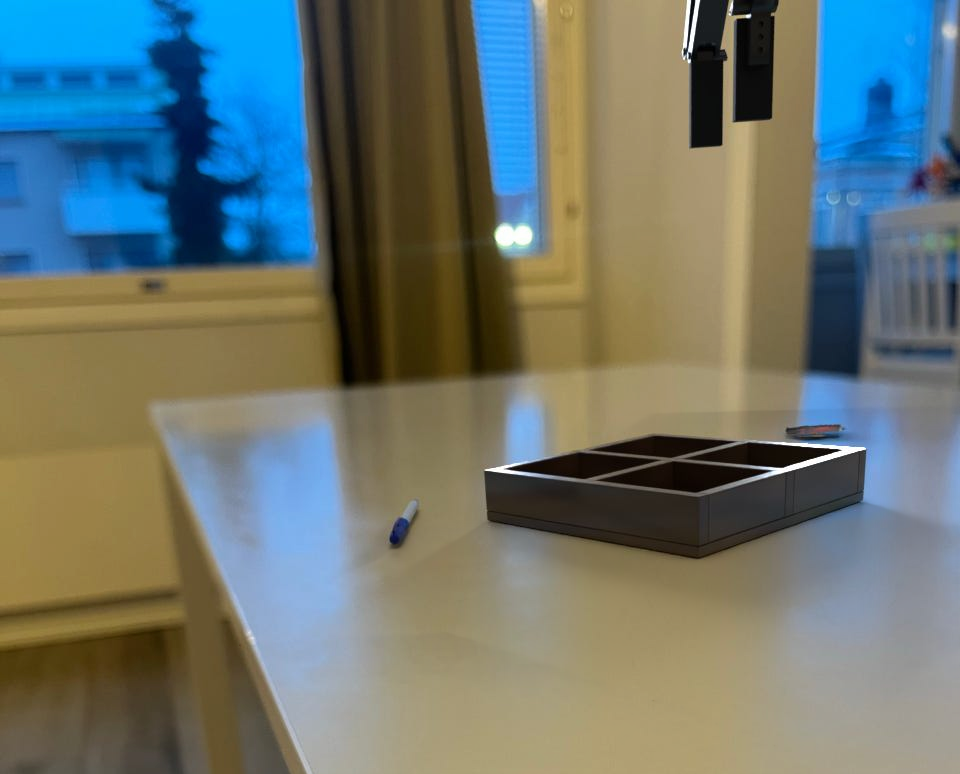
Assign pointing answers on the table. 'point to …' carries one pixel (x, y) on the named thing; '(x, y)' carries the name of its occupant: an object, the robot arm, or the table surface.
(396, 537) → the blue and white marker
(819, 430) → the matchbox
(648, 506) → the grid
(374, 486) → the table surface
